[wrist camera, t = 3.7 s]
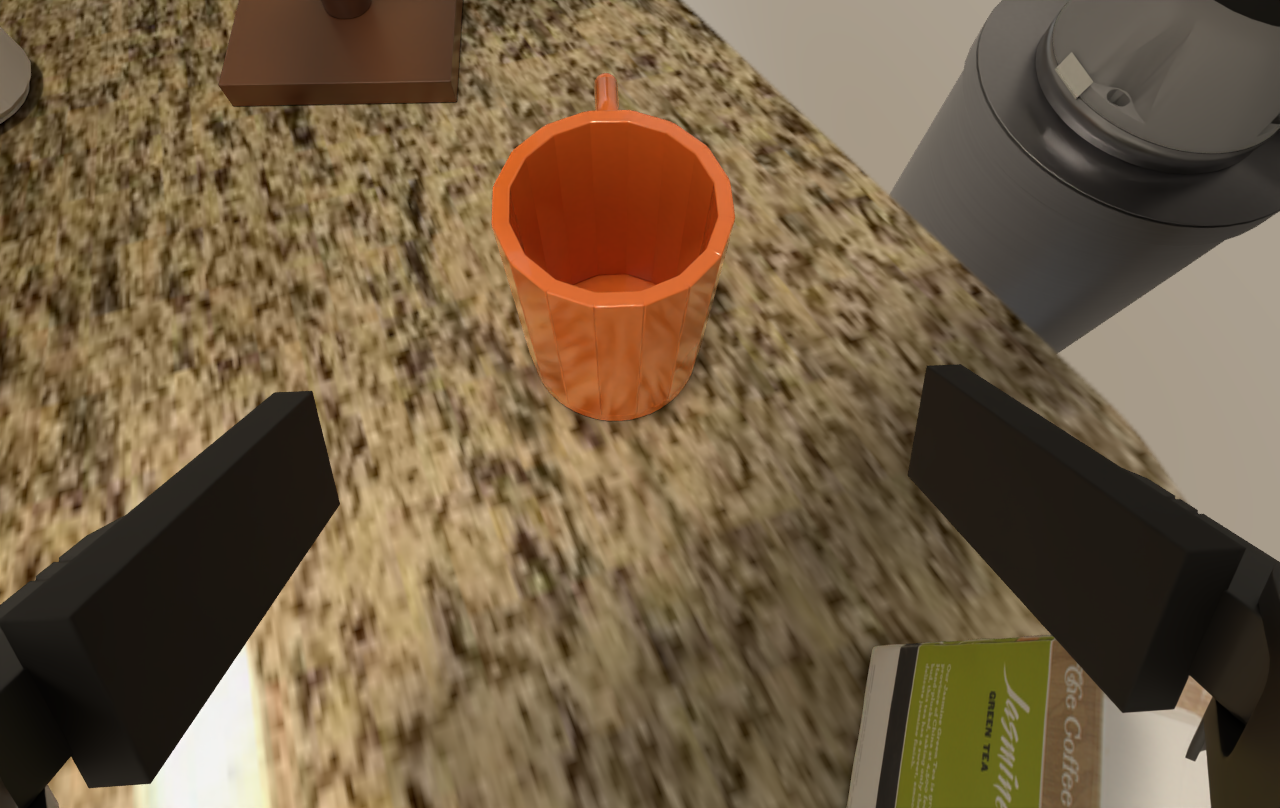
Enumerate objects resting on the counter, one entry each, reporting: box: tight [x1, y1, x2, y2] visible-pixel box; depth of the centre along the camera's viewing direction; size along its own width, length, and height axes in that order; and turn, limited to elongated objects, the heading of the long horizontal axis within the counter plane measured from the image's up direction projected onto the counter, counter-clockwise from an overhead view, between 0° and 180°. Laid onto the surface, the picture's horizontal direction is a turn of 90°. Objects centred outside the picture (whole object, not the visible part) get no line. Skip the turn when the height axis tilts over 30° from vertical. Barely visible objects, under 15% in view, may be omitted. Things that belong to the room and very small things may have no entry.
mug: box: [492, 73, 735, 421], centre depth 28 cm, size 12×8×11 cm
